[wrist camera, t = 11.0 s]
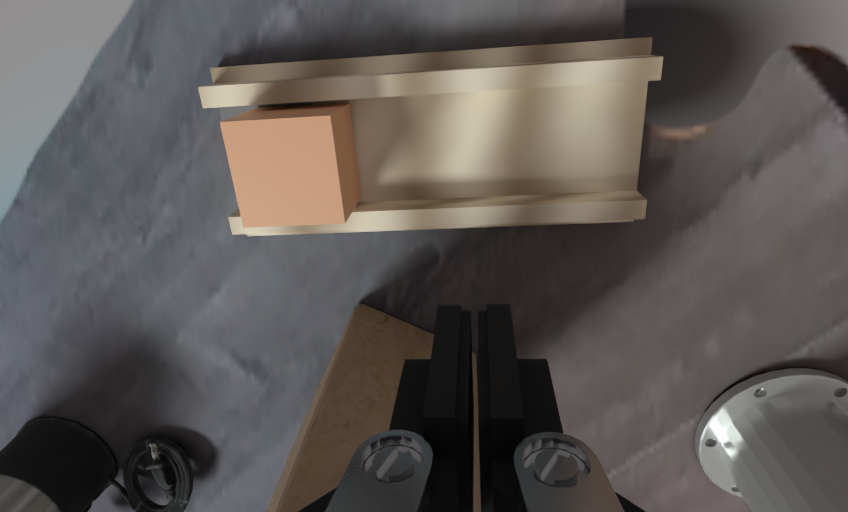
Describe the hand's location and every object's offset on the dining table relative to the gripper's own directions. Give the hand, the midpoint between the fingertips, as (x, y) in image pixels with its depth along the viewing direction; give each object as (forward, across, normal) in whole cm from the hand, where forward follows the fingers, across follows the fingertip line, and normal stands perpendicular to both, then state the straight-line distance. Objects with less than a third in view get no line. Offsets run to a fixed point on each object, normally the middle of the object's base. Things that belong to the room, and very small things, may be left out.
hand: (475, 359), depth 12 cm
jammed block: (+22, +11, -1) cm, 24 cm away
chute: (+23, +3, -1) cm, 23 cm away
